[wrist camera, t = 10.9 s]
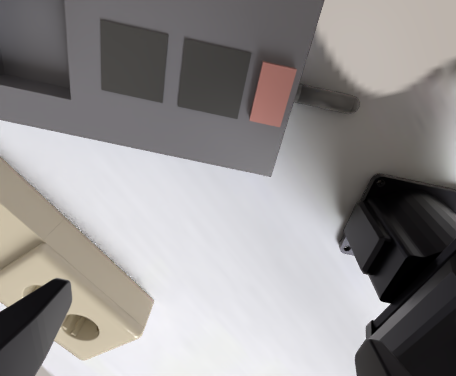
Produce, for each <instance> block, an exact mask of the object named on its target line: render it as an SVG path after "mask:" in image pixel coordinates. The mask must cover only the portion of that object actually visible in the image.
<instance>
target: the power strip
mask: <svg viewBox="0 0 456 376" xmlns="http://www.w3.org/2000/svg"><path fill="white" fill-rule="evenodd" d="M323 3H324V0H0V120H3V121H8V122H13V123H18V124H22V125H27V126H32V127H37V128H41V129H46V130H51V131H56V132H60V133H65V134H70V135H75V136H79V137H84V138H89V139H93V140H98V141H103V142H108V143H112V144H117V145H122V146H127V147H131V148H136V149H141V150H146V151H150V152H155V153H160V154H165V155H169V156H174V157H179V158H184V159H188V160H193V161H198V162H203V163H207V164H212V165H217V166H222V167H226V168H231V169H236V170H241V171H245V172H250V173H255V174H260V175H264V176H269V177H271V175H272V172H273V169H274V165H275V162H276V159H277V155H278V152H279V149H280V145H281V142H282V139H283V135H284V132H285V129H286V126H287V122H288V119H289V116H290V112H291V109H292V106H293V102H297V103H301V104H306V105H310V106H315V107H319V108H324V109H329V110H333V111H338V112H342V113H347V114H351V113H354V112H356V111H357V110H358V108H359V105H360V102H359V100H358V98H357V97H355V96H352V95H348V94H343V93H339V92H334V91H330V90H325V89H321V88H316V87H312V86H307V85H303V84H299V83H300V79H301V76H302V73H303V69H304V66H305V63H306V59H307V56H308V53H309V50H310V46H311V43H312V40H313V36H314V33H315V30H316V26H317V23H318V20H319V16H320V13H321V10H322V7H323Z"/></svg>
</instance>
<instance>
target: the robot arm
mask: <svg viewBox="0 0 456 376" xmlns="http://www.w3.org/2000/svg"><path fill="white" fill-rule="evenodd" d="M380 180H383V181H382V183H380V184H377V182H378V181H380ZM345 246H348V247H347V248H344V247H345ZM339 248H340V250H341V252H342V253H344V254H349V255H354V256H355V258H356V260H357V262H358V265H359V267H360V269H361V271H362V272H363V274H367V275H369V278H370V280H371V282H372V284H373V286H374V288H375V290H376V292H377V295H378V297H379V299H380V301H382V302H386V303H391V304H390V305H389V306H388V307H387V308H386V309H385V310H384V311H383V312H382V313H381V314H380V315H379V316H378V317H377V318H376V319H375V320H372V321H371V322H370V323H369V324H368V325H367V326H366V340H365V341H364V342H363V344H362V345H361V347H360V348H359V350H358V351H357V353H356V355H355V366H356V373H357V376H456V190H455V189H450V188H446V187H441V186H436V185H431V184H427V183H422V182H417V181H413V180H408V179H403V178H399V177H394V176H389V175H385V174H377V175H375V176H373V177H372V179H371V180H370V182H369V184H368V187H367V189H366V191H365V193H364V195H363V197H362V199H361V201H359V202H358V203H357V204H356V206H355V208H354V210H353V212H352V214H351V216H350V218H349V220H348V222H347V224H346V226H345V229H344V235H343V237H342V239H341V241H340V243H339ZM71 304H72V289H71V282H70V281H69V280H66V279H61V278H55V279H52V280H51V281H49V282H47V283H46V284H44V285H43V286H41V287H39V288H38V289H36V290H35V291H33V292H31V293H30V294H28V295H27V296H25V297H23V298H22V299H20V300H18V301H17V302H15V303H14V304H12V305H10V306H9V307H7V308H6V309H4V310H2V311H1V312H0V376H35V375H36V373H37V371H38V369H39V368H40V366H41V365H42V363H43V361H44V360H45V358H46V356H47V354H48V352H49V350H50V348H51V346H52V344H53V342H54V339H55V337H56V335H57V333H58V331H59V329H60V327H61V325H62V323H63V321H64V319H65V317H66V315H67V313H68V311H69V309H70V306H71Z"/></svg>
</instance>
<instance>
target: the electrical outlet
mask: <svg viewBox="0 0 456 376" xmlns="http://www.w3.org/2000/svg"><path fill="white" fill-rule="evenodd" d="M55 278H61V279H66V280H69V281H70V282H71V289H72V304H71V306H70V309H69V311H68V313H67V315H66V317H65V319H64V321H63V323H62V325H61V327H60V329H59V331H58V333H57V335H56V337H55V339H54V341H55V342H56V343H58V344H59V345H61V346H62V347H63V348H65V349H66V350H68V351H69V352H70V353H72V354H73V355H74V356H76V357H77V358H79V359H80V360H87V359H90V358H92V357H95V356H97V355H100V354H102V353H105V352H107V351H109V350H112V349H114V348H117V347H119V346H122V345H124V344H127V343H129V342H131V341H134V340H136V339H139V338H140V337H141V336H142V334H143V331H144V329H145V326H146V323H147V320H148V318H149V315H150V312H151V309H152V306H153V304H154V300H153V299H152V298H151V297H150V296H149V295H148V294H147V293H146V292H145V291H143V290H142V289H141V288H140V287H139V286H138V285H137V284H136V283H135V282H134V281H133V280H132V279H131V278H130V277H128V276H127V275H126V274H125V273H124V272H123V271H122V270H121V269H120V268H119V267H118V266H117V265H116V264H115V263H114V262H112V261H111V260H110V259H109V258H108V257H107V256H106V255H105V254H104V253H103V252H102V251H101V250H100V249H99V248H97V247H96V246H95V245H94V244H93V243H92V242H91V241H90V240H89V239H88V238H87V237H86V236H85V235H84V234H83V233H81V232H80V231H79V230H78V229H77V228H76V227H75V226H74V225H73V224H72V223H71V222H70V221H69V220H68V219H66V218H65V217H64V216H63V215H62V214H61V213H60V212H59V211H58V210H57V209H56V208H55V207H54V206H53V205H51V204H50V203H49V202H48V201H47V200H46V199H45V198H44V197H43V196H42V195H41V194H40V193H39V192H38V191H37V190H35V189H34V188H33V187H32V186H31V185H30V184H29V183H28V182H27V181H26V180H25V179H24V178H23V177H22V176H20V175H19V174H18V173H17V172H16V171H15V170H14V169H13V168H12V167H11V166H10V165H9V164H8V163H7V162H6V161H4V160H3V159H2V158H1V157H0V302H1V303H2V304H4V305H5V306H6V307H9V306H10V305H12V304H14V303H15V302H17V301H18V300H20V299H22V298H23V297H25V296H27V295H28V294H30V293H31V292H33V291H35V290H36V289H38V288H39V287H41V286H43V285H44V284H46V283H47V282H49V281H51V280H52V279H55Z"/></svg>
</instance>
